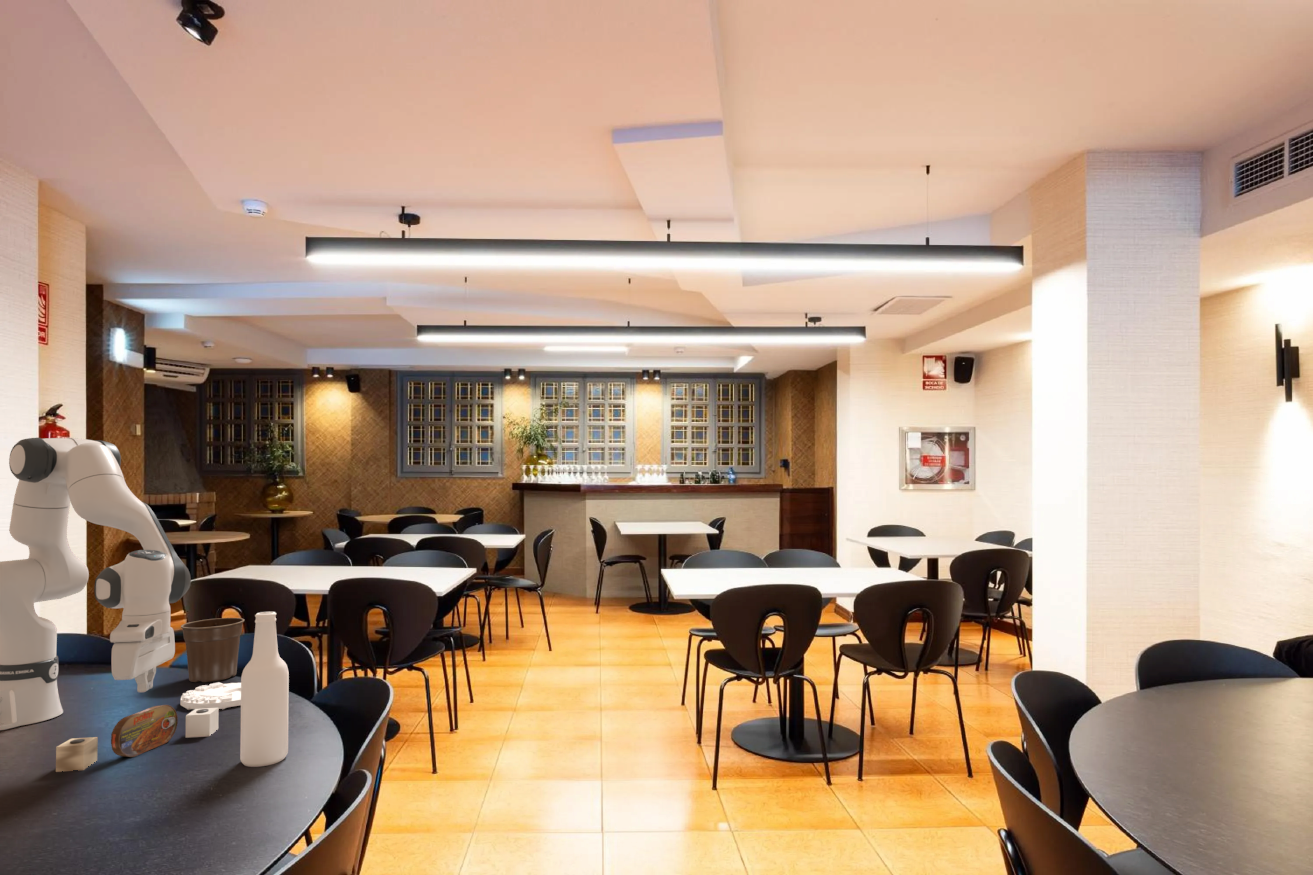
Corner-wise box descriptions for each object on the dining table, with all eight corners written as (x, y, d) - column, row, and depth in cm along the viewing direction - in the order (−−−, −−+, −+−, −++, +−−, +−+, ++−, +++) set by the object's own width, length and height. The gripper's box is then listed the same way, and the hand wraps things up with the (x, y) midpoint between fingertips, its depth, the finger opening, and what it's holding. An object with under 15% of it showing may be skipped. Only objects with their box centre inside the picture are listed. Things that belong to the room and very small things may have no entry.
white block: (185, 737, 174) (185, 714, 174) (195, 730, 179) (195, 707, 179) (209, 736, 174) (209, 713, 175) (218, 729, 179) (218, 706, 180)
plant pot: (171, 678, 225) (172, 623, 226) (230, 667, 238) (231, 615, 239) (192, 688, 215) (193, 629, 216) (253, 676, 227) (253, 620, 228)
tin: (119, 762, 159) (120, 721, 159) (107, 762, 159) (107, 720, 160) (178, 738, 173) (179, 700, 174) (167, 737, 174) (167, 699, 174)
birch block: (55, 772, 154) (56, 745, 154) (70, 763, 159) (71, 737, 159) (83, 770, 155) (83, 743, 155) (97, 761, 160) (97, 735, 160)
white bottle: (297, 754, 162) (298, 610, 163) (263, 769, 153) (265, 617, 155) (265, 750, 165) (266, 608, 166) (230, 765, 156) (231, 615, 158)
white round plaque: (279, 700, 204) (279, 688, 204) (196, 717, 189) (196, 705, 189) (249, 686, 217) (249, 676, 217) (169, 702, 203) (169, 690, 203)
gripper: (153, 617, 177) (152, 678, 177) (105, 635, 157) (103, 704, 156) (183, 616, 178) (182, 677, 178) (139, 634, 158) (137, 703, 157)
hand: (145, 690), depth 167 cm, fingers closed
